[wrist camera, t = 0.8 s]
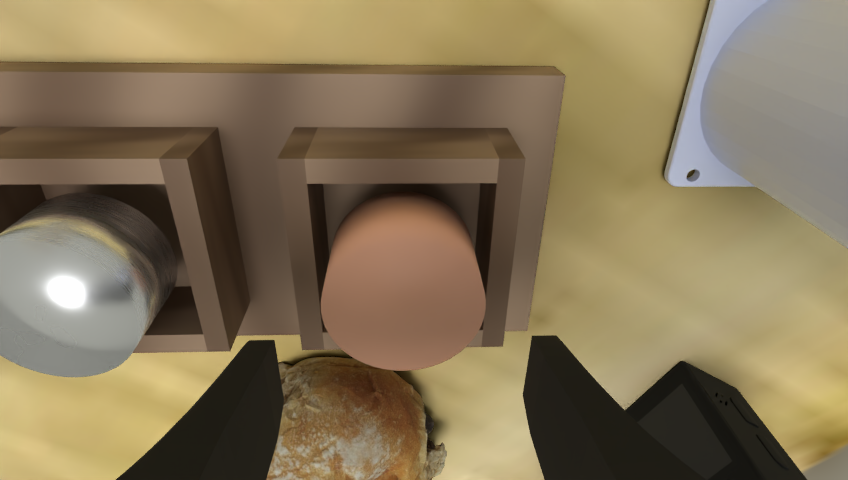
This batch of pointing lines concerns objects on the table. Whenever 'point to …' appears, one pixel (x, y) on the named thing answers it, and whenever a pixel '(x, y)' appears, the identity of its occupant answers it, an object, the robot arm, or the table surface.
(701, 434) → the digital camera
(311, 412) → the bread roll
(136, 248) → the grey plunger
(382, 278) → the tan rounded piece
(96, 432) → the table surface
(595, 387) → the robot arm
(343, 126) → the brown wooden tray
